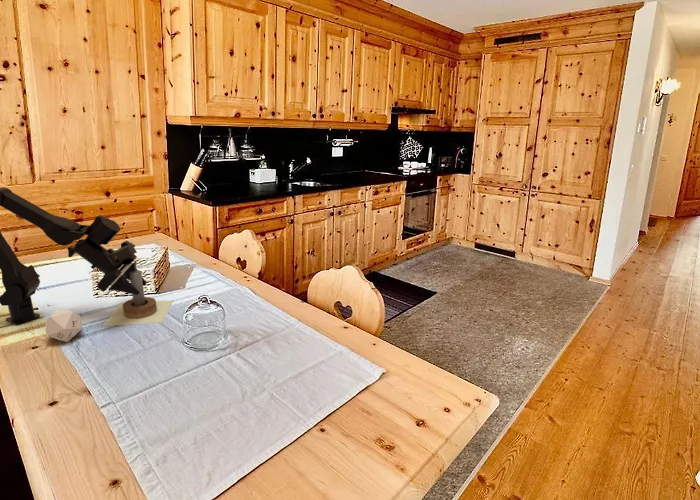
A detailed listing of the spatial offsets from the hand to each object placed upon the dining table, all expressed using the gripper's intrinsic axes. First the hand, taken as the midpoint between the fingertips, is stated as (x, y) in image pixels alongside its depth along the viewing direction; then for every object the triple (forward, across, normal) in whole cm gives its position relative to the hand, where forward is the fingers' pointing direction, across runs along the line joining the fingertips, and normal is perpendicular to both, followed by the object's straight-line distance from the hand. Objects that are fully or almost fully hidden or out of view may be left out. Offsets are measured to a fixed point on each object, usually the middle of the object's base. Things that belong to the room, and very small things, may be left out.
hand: (142, 288), depth 133 cm
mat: (+5, 0, +7) cm, 8 cm away
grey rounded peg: (+4, 0, +6) cm, 8 cm away
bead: (+4, 0, +6) cm, 8 cm away
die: (-6, -13, +18) cm, 23 cm away
